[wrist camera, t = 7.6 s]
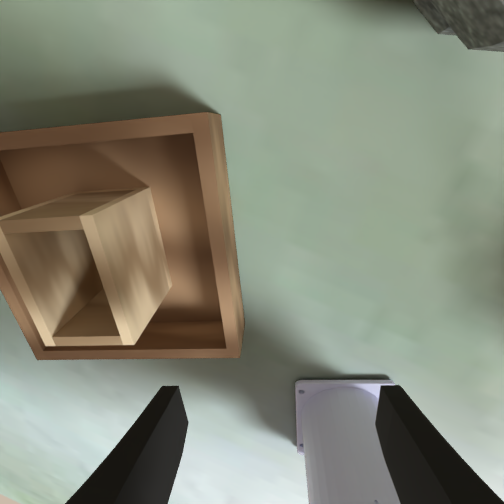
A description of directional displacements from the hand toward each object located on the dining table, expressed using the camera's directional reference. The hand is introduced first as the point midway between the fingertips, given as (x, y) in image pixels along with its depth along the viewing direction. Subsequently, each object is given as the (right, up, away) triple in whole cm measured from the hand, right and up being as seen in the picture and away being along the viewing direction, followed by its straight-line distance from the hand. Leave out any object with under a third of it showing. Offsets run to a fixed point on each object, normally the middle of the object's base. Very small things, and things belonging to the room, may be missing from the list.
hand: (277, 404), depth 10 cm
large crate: (-9, +6, +9) cm, 15 cm away
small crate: (-9, +6, +9) cm, 14 cm away
